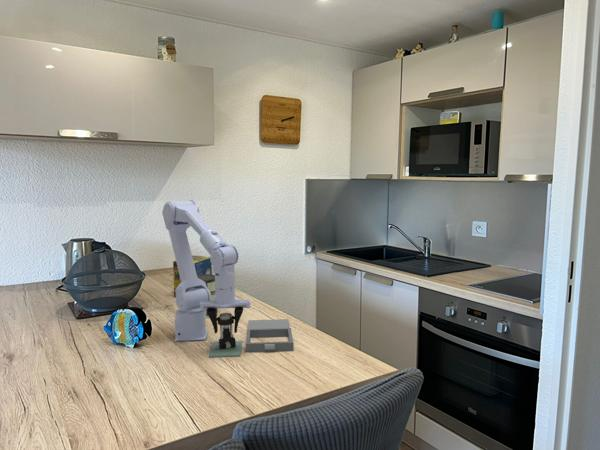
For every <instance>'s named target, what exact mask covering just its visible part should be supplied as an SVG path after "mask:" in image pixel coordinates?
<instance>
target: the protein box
mask: <svg viewBox="0 0 600 450" xmlns="http://www.w3.org/2000/svg"><path fill="white" fill-rule="evenodd" d="M192 258H193V262H194V266H195V270H196V274H197V275H201V274H210V275H213V266H212V264H211V261H210V256H203V255H202V256H201V255H192ZM172 266H173V268H172V269H173V270H172V271H173V272H172V273H173V296H174V298H176V292H175V289H176V288H177V287H178V285H179V284H180V283H181V279H180V275H179V271H178V267H177V262H176V260H173V261H172ZM187 290H189V289H187ZM187 290H186V291H187Z"/></svg>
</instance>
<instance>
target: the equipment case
mask: <svg viewBox="0 0 600 450" xmlns="http://www.w3.org/2000/svg"><path fill="white" fill-rule="evenodd" d="M275 337H276V338H279V337H280V338H281V337H283V338H284V337H287V339H288V341H257V342H251V339H252V338H275ZM245 339H246V340H245V352H246V353H262V352H266V353H267V352H290V351H291V352H293V351H294V337H293V333H292V328H291V326H290V319H289V318H284V319H283V318H281V319H280V318H279V319H278V318H277V319H250V320H249V319H248V321H247V330H246V338H245Z"/></svg>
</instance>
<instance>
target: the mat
mask: <svg viewBox="0 0 600 450" xmlns="http://www.w3.org/2000/svg"><path fill="white" fill-rule="evenodd" d="M235 341H236V347H231V348H225V349H220V348H216V347H217V346H219V345H216V344H217V343H219V341H212V343H211V347H210V351H209V353H208V358H232V357H233V358H236V357H238V358H239V357H241V353H242V347H243V345H242V344H243V341H242V340H235ZM214 344H215V345H214ZM214 347H215V348H214Z"/></svg>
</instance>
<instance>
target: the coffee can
mask: <svg viewBox="0 0 600 450" xmlns="http://www.w3.org/2000/svg"><path fill="white" fill-rule="evenodd" d="M197 277H198V278H199V279H201V280H202V281H204V282H205V283H206V287H207V289H208V290H209V292H210V295H211V300H210V301H213V300H215V274H212V275H210V274H201V275H197ZM192 289H195V288H192ZM192 289H189V290H192ZM218 311H219V310H218V309H217V315H218V313H219V312H218ZM206 318H208V319H209V316H208V314H207V309H205V319H206Z"/></svg>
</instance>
